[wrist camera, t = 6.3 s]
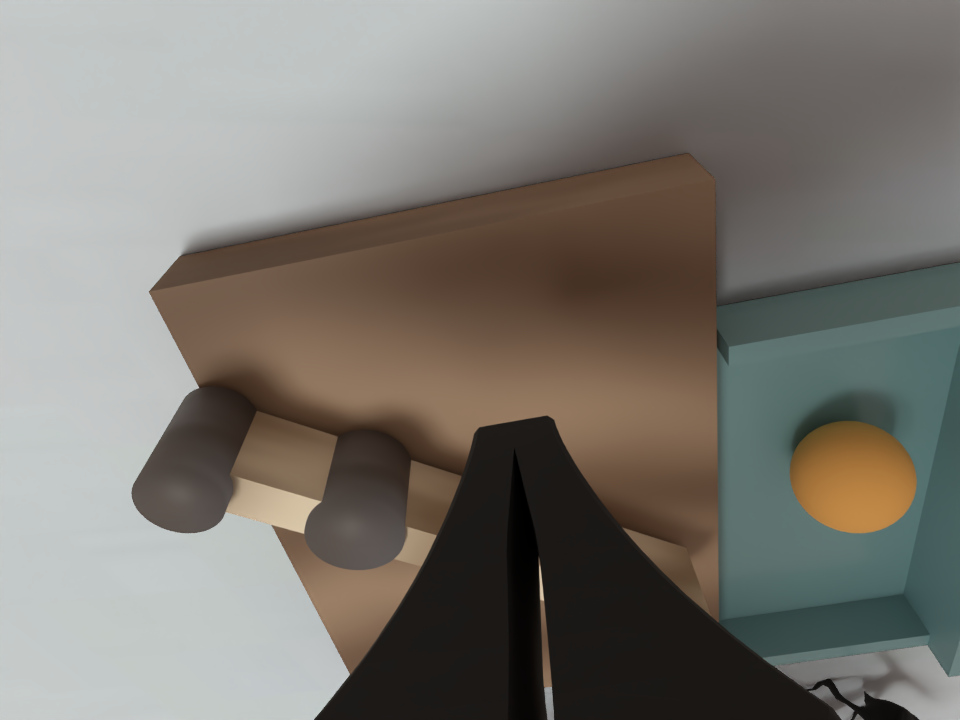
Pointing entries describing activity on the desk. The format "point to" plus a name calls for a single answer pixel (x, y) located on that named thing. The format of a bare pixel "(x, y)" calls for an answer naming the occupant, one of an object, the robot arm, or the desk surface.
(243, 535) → the desk surface
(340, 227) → the board
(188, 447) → the lever
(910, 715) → the creature
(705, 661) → the robot arm
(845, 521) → the ball
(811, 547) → the teal shallow crate
